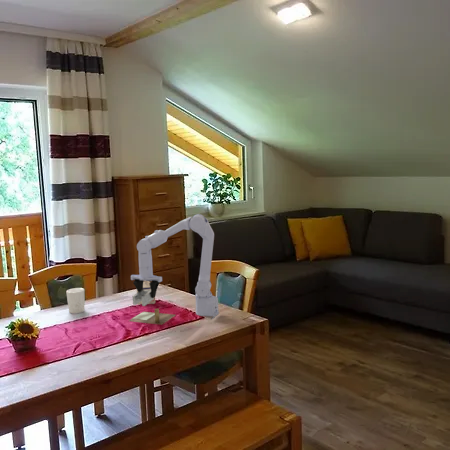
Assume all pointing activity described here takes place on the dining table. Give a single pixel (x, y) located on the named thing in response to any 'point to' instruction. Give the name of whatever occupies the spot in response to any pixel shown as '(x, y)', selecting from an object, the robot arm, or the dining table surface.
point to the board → (152, 317)
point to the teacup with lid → (147, 287)
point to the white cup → (76, 300)
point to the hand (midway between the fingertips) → (147, 296)
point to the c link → (142, 297)
